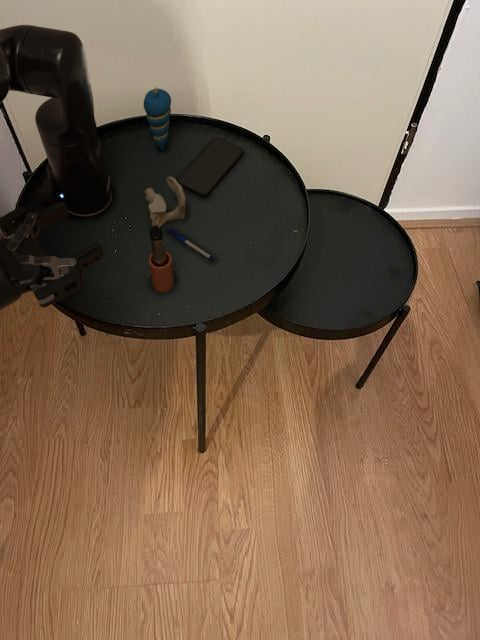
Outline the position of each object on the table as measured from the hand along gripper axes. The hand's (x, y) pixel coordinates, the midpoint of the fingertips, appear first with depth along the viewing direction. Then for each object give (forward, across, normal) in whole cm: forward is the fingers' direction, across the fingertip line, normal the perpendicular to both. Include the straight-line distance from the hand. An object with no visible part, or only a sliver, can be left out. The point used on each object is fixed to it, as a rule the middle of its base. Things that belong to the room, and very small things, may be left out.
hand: (83, 227), depth 73 cm
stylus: (+10, 0, +22) cm, 25 cm away
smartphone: (+34, +16, +23) cm, 45 cm away
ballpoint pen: (+20, +3, +23) cm, 31 cm away
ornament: (+30, +26, +24) cm, 46 cm away
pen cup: (+11, 0, +23) cm, 25 cm away
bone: (+19, +12, +23) cm, 33 cm away
